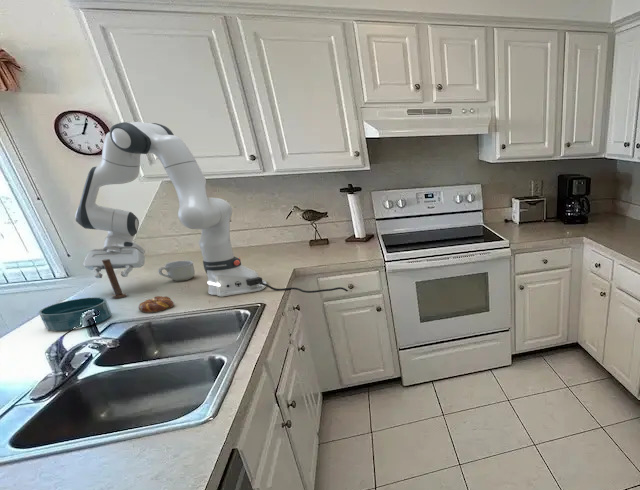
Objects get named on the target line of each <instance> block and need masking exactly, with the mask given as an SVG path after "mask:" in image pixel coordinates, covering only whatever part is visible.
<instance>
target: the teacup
mask: <svg viewBox="0 0 640 490" xmlns="http://www.w3.org/2000/svg"><path fill="white" fill-rule="evenodd" d="M163 270H165V271H166V273H167V274H165V273H163ZM195 273H196V270H195V266H194V262H193V260H185V259H184V260H183V259H182V260H175V261H170V262H167V263H165V264H164V266H161V267H159V269H158V274H159V275H160V276H162V277H165V278H168V279H171V280H173V281H176V282H183V281H189V280H191V279H192V278H194V276H195Z"/></svg>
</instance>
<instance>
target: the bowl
mask: <svg viewBox="0 0 640 490" xmlns="http://www.w3.org/2000/svg"><path fill="white" fill-rule="evenodd" d="M92 309H97V310H99V311H100V315H99V316H97V317H95V321H96V324H95V325H97V324H101V323H102V322H105V321H106V320H107V319H108V318H110V317H111V316H112V312H111V309H110V307H109V304H108V302H107V299H106V298H104V297H98V296H97V297H96V296H95V297H94V296H93V297H82V298H75V299H70V300H65V301H62V302H56V303H54V304H51V305H48V306H46V307H43V308H42V309H40V310H39V311H38V314H39V317H40V319H41V321H42V323H43V326H44V328H45V329H46V330H49V331H56V332H65V331H72V330H71V329H73V328H74V327H77V326H79V325H80V317H81V315H82V313H84V312H86V311H88V310H92Z"/></svg>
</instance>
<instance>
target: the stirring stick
mask: <svg viewBox="0 0 640 490" xmlns="http://www.w3.org/2000/svg"><path fill="white" fill-rule="evenodd" d="M102 262H103V265H104V267H105V269H104V270H105V272H106V275H107V278H108V281H109V282H110V285H111V288H112V291H113V293H114V294H112V295H111V297H112V299H114V300H117V299H119V300H120V299H122V298H126V297H127V293H126V292H123V291H122V288H121V285H120V283H119V280H118V278H117V275H116V272H115V269H113V267H112V264H111V261H110V259H105V260H102Z"/></svg>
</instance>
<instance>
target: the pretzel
mask: <svg viewBox="0 0 640 490" xmlns="http://www.w3.org/2000/svg"><path fill="white" fill-rule="evenodd" d="M174 304H175V303H174V302H173V300H172V299H171V297H169V296H161V295H156V296H154V297H153V298H151V299H146V300H144V301H142V302H140V303H139V304H138V307H137V308H138V310H139V311H140V312H143V313H156V312H157V313H158V312H163V311H165V310H167V309H171V308H173V307H174Z"/></svg>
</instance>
